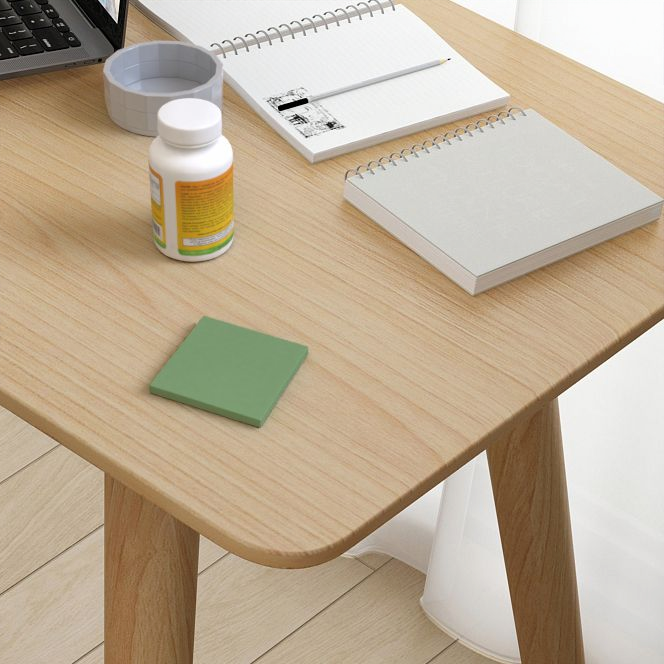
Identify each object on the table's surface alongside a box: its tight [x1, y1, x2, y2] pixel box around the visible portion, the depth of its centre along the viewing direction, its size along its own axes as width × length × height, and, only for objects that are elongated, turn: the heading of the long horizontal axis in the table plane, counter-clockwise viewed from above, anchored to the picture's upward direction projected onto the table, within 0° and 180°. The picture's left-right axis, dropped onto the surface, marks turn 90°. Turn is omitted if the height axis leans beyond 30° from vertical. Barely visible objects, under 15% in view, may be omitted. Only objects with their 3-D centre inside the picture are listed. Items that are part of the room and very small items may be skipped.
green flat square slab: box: [148, 315, 309, 428], centre depth 70 cm, size 7×7×1 cm
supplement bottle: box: [148, 98, 235, 263], centre depth 77 cm, size 5×5×10 cm
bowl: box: [102, 40, 224, 138], centre depth 93 cm, size 9×9×4 cm
